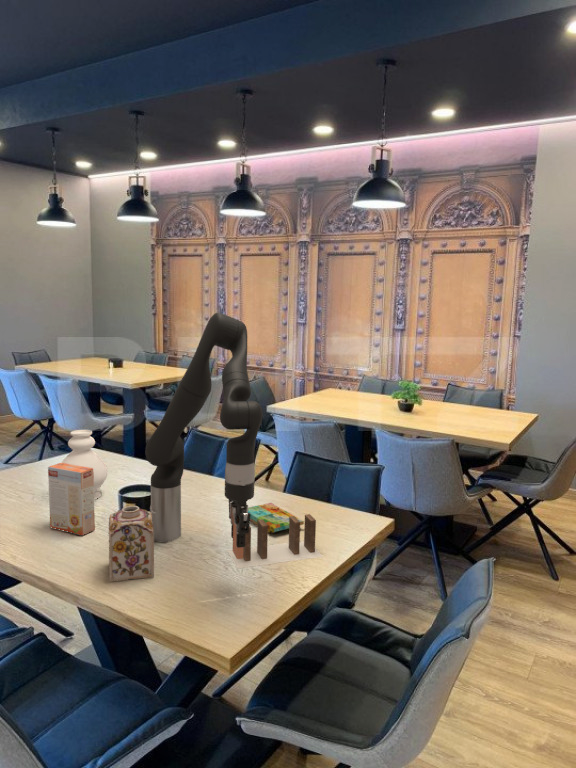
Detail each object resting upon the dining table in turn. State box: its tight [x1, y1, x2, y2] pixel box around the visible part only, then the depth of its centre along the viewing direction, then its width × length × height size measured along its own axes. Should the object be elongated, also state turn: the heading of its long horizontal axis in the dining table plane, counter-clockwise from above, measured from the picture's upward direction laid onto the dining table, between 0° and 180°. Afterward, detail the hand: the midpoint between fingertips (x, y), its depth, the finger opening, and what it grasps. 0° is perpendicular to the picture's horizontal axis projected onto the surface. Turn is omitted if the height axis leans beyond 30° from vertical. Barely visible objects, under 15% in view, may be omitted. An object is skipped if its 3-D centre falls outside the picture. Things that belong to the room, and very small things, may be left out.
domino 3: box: [256, 519, 269, 559], centre depth 165 cm, size 2×5×10 cm, turn 19°
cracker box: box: [47, 462, 96, 536], centre depth 181 cm, size 14×6×21 cm, turn 65°
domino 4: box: [288, 515, 301, 555], centre depth 169 cm, size 2×5×10 cm, turn 19°
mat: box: [227, 540, 324, 569], centre depth 167 cm, size 26×12×1 cm, turn 109°
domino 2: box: [243, 525, 252, 561], centre depth 164 cm, size 2×5×10 cm, turn 19°
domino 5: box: [303, 513, 317, 553], centre depth 170 cm, size 2×5×10 cm, turn 19°
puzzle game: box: [248, 502, 305, 534], centre depth 190 cm, size 12×5×20 cm
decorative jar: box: [108, 505, 155, 582], centre depth 154 cm, size 12×12×18 cm
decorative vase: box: [61, 429, 109, 501], centre depth 210 cm, size 18×18×25 cm
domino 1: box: [232, 519, 244, 559], centre depth 145 cm, size 2×5×10 cm, turn 19°
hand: (238, 541), depth 145 cm, fingers closed on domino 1, 5 cm apart
